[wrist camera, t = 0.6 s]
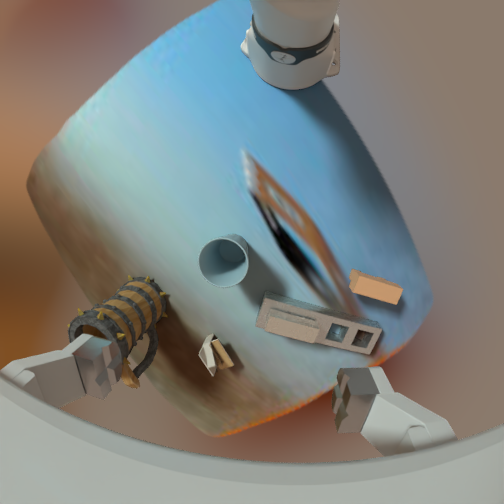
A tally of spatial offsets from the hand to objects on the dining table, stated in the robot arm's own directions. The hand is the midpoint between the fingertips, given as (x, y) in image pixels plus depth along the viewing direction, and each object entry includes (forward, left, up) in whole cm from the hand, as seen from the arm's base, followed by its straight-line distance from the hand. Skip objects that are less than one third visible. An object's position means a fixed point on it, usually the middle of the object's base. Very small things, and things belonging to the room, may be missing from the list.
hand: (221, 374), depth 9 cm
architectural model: (+27, -3, -43) cm, 51 cm away
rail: (+15, +15, -43) cm, 48 cm away
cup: (+6, -5, -43) cm, 44 cm away
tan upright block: (+4, +21, -43) cm, 48 cm away
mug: (+24, -19, -43) cm, 53 cm away
